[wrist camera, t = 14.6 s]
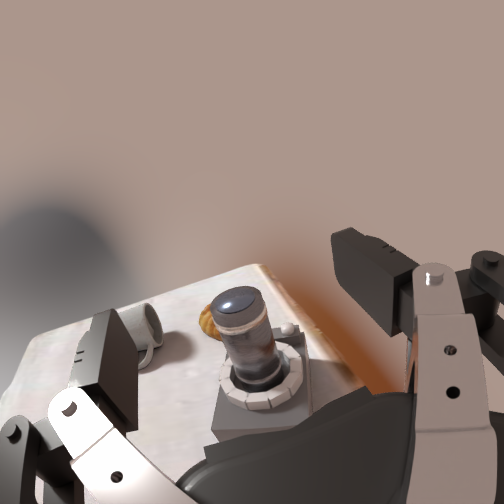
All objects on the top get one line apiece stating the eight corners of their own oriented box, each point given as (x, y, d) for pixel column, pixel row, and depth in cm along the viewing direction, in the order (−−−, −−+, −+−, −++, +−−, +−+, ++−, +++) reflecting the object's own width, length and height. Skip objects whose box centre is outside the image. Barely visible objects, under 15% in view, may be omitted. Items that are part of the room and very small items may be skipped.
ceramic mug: (126, 337, 55) (108, 306, 52) (164, 327, 56) (148, 294, 53) (119, 376, 46) (96, 343, 43) (162, 366, 46) (142, 331, 43)
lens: (238, 397, 32) (202, 320, 27) (243, 364, 36) (213, 288, 32) (285, 392, 31) (260, 312, 26) (285, 358, 35) (263, 280, 31)
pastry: (261, 328, 50) (255, 310, 48) (229, 353, 46) (222, 335, 45) (226, 310, 57) (220, 293, 55) (197, 330, 53) (190, 314, 52)
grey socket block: (225, 450, 30) (203, 417, 27) (239, 366, 43) (224, 329, 40) (313, 445, 29) (306, 411, 26) (308, 358, 41) (301, 318, 38)
